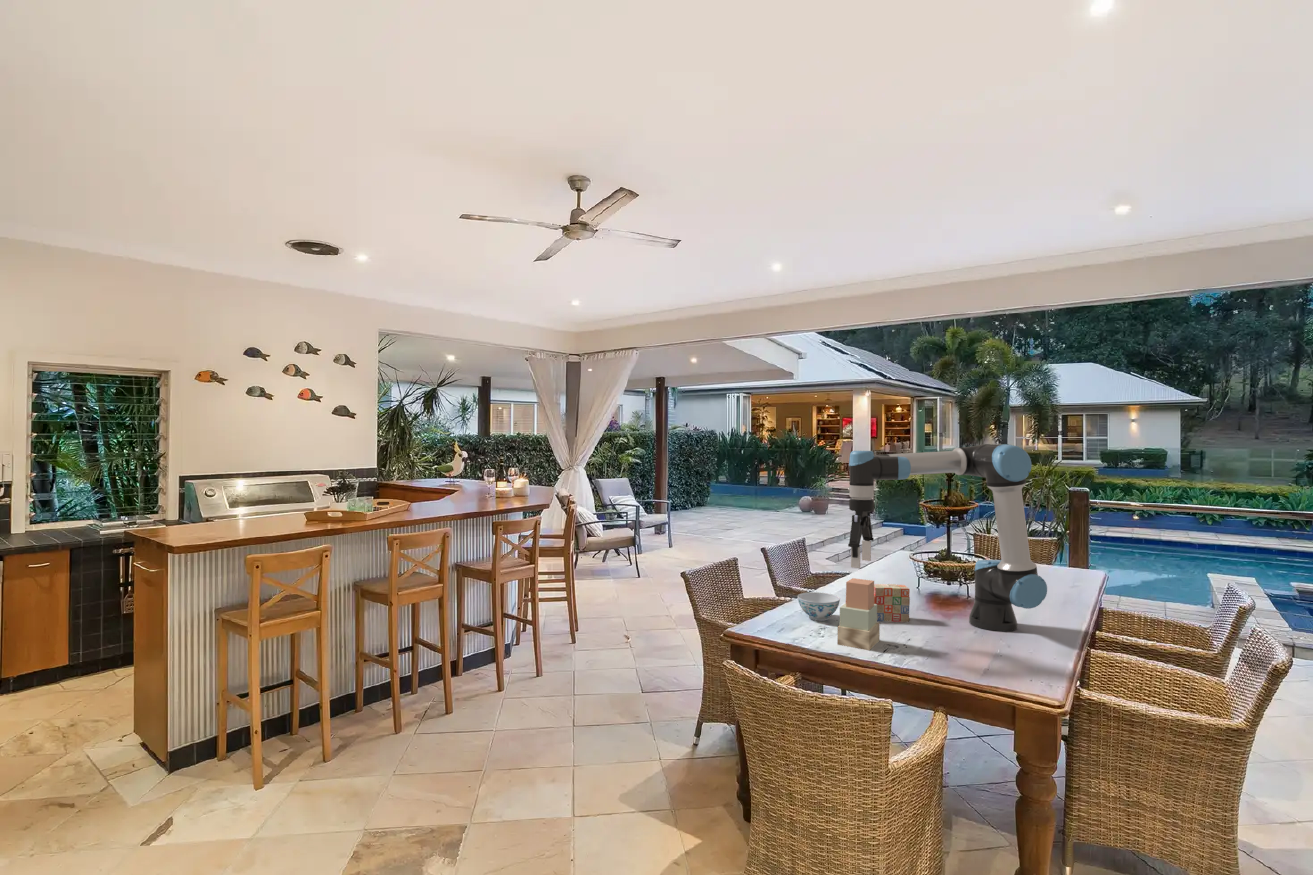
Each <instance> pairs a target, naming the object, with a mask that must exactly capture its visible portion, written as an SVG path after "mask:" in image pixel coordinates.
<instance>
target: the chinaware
mask: <svg viewBox="0 0 1313 875" xmlns="http://www.w3.org/2000/svg"><path fill="white" fill-rule="evenodd" d="M797 600H798V603H799V606H800V609H801V610H802V611H803V612H804V613H805V614H806V615H807V616H808V618H809V619H810V620H813V621H816V622H817V621H818V622H819V621H820V622H823V621H828V619H829V617H831V616H832V615H834V613H835V612H836V611H837V610H838V608H839V605H840V601H841V598H840V597H839V596H838V595H836V594H831V593H826V592H818V591H817V592H815V591H811V592H802V593H799V594H798V595H797Z"/></svg>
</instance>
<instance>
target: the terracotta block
mask: <svg viewBox="0 0 1313 875" xmlns="http://www.w3.org/2000/svg"><path fill="white" fill-rule="evenodd" d="M845 583H846V584H845V590H846V591H845V603H846V607H850V608H857V609H863V610H869V609H870V608H871V607H873V606H874V584H875V580H871V579H862V578H854V577H852V578H851V579H848V580H847V581H846V582H845Z"/></svg>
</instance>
